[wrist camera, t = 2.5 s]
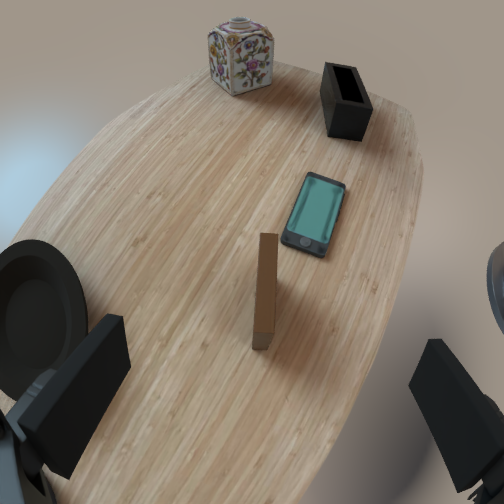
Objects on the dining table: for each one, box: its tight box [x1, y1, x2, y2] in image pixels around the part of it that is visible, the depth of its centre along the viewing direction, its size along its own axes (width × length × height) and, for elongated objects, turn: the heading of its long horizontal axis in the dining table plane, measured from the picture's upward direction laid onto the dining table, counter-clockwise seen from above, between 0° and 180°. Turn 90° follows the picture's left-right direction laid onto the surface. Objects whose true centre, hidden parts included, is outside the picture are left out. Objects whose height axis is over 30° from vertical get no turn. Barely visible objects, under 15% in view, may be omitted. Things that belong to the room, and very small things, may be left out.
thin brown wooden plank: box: [252, 233, 278, 350], centre depth 36 cm, size 11×2×12 cm, turn 176°
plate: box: [0, 240, 88, 401], centre depth 36 cm, size 28×24×6 cm
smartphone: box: [281, 172, 346, 258], centre depth 47 cm, size 7×1×15 cm
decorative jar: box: [208, 17, 274, 96], centre depth 58 cm, size 12×12×18 cm
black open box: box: [320, 62, 373, 142], centre depth 57 cm, size 18×8×9 cm, turn 176°
